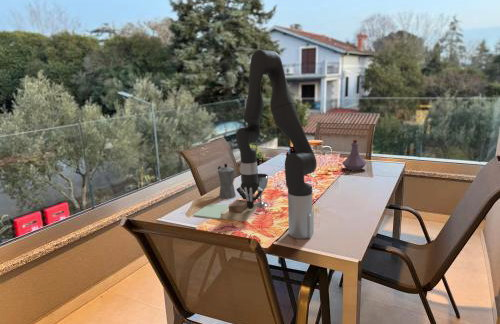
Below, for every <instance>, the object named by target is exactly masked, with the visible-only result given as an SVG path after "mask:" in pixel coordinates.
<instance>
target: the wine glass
mask: <svg viewBox="0 0 500 324" xmlns="http://www.w3.org/2000/svg"><path fill="white" fill-rule="evenodd" d="M268 180H269V175H268V173H258V185H259V188H261V189H263V190H264V191H265V189H266V188H268V187H267V186H268V182H269V181H268ZM257 191H258V190H257ZM257 191H256V192H257ZM262 194H263V193H262ZM262 194H261V195H260V196H259V201H258V202H254V205H257V208H264V207H266V206H268V205H269V204H268V203H267V202H265V201H262Z"/></svg>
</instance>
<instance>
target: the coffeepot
mask: <svg viewBox="0 0 500 324" xmlns="http://www.w3.org/2000/svg"><path fill="white" fill-rule="evenodd" d="M223 165H224V166H221V165H219V166H218V167H217V173H218V174H217V175H218V177H219V182H220V184H219V199H220V198H221V199H223V200H224V199H227V200H229V199H233V198H235V197H236V196H237V195H236V191H235V185H234V180H235V168H234V167H228V164H227V163H224V164H223Z"/></svg>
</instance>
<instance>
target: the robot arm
mask: <svg viewBox="0 0 500 324" xmlns="http://www.w3.org/2000/svg"><path fill="white" fill-rule="evenodd" d="M264 75H265V76H266V75H267V76H268V78H269V81H270V84H271V98H270V112H271V114H272V117H273V120H274V123H275V125H276V126H277V127H278V129H279V130H280V131H281V132H282V133H283V134H284V135H285V136H286V137H287V138H288V139H289V141H290V142H291V144H292V146H293V149H294V152H292V153H289V154H287V156H286V157H285V160H284V173H285V174H284V176H285V177H284V178H285V185H286V188H287V198H288V199H287V206H288V207H287V208H288V209H287V211H288V236H290V237H291V238H292V239H293V238H294V239H301V240H304V239H311V238H312V235H313V234H314V227H315V226H314V225H315V223H314V218H315V217H314V209H313V186H312V185H311V184H310V183H307V182H305V176H306V175H309V174H313V173H314V172H315V171H316V169H317V163H318V162H317V158H316V156H315V153H314V151H313V149H312V147H311V144H310V142H309V139H308V137H307V136H306V133H305V131H304V128H303V125H302V123H301V120H300V117H299V114H298V111H297V108H296V105H295V103H294V100H293V98H292V95H291V91H290V88H289V85H288V82H287V79H286V74H285V70H284V65H283V61H282V58H281V56H280V55H279V53H277V52H276V51H274V50H269V49H268V50H265V49H257V50H255V51H253V53H252V56H251V59H250V63H249V77H248V91H247V92H248V94H247V99H246V104H245V109H244V113H243V121H244V122H245V123H246V124H247V126H246V127H240V128H238V129H237V131H236V133H235V140H236V143H237V147H238V150H239V154H240V181H241V184H240V186H239V187H237V188H236V192H237V193H238V194H239V195H240V197H241V198H242V200H247V207H248V209H252V208H253V207H254V204H255V201H256V200H258V199H260V197H259V196H260V195H261V194H263V193H264V191H265V189H264V190H263V189H261V188H259V185H258V174H259V172H258V171H259V170H258V162H257V160H258V159H257V150H256V149H255V148H253V147H251V146H250V144H251V143H255V142H257V141H258V140H259V138H260V135H261V121H260V120H261V117H262V112H263V109H264V98H263V95H262V90H261V89H262V87H261V85H262V80H263V77H264ZM257 190H258V191H257Z"/></svg>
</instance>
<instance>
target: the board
mask: <svg viewBox="0 0 500 324" xmlns="http://www.w3.org/2000/svg"><path fill="white" fill-rule="evenodd" d="M257 209H258V207H257V205H254V207H253V208H252V209H248V208H247V209H246V210H244V211H243V212H242V213H232V212H229V207H228V208H227V209H226V210H224V211H223V212H222V213H221V219H222V220H227V221H228V220H231V221H236V222H247V220H249V219H250V218H251V217H252V216H253V215H254V214H255V213H256V212H257ZM221 219H220V220H221Z"/></svg>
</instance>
